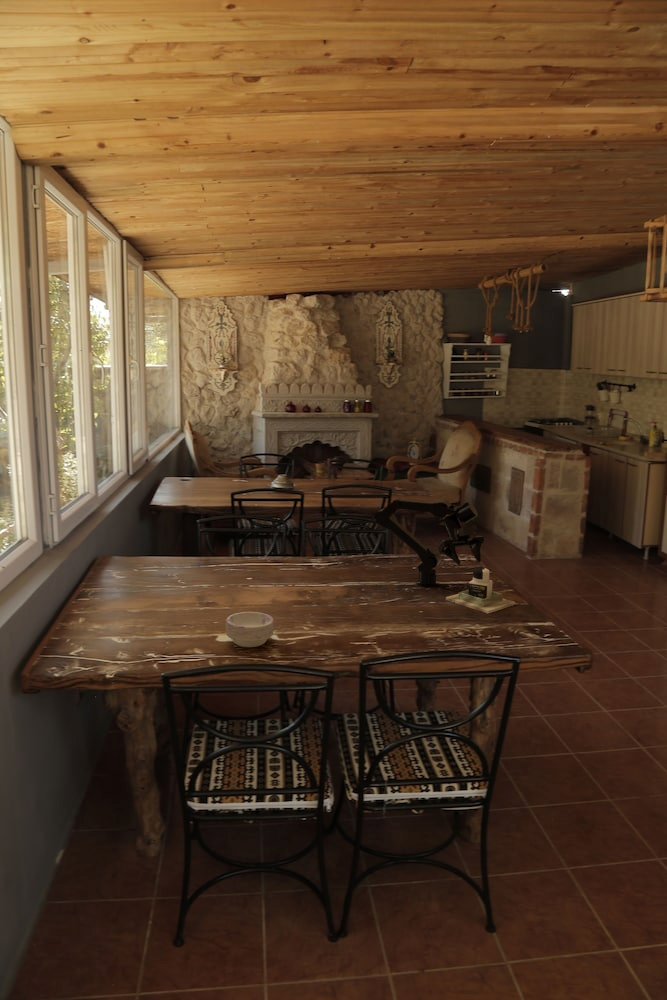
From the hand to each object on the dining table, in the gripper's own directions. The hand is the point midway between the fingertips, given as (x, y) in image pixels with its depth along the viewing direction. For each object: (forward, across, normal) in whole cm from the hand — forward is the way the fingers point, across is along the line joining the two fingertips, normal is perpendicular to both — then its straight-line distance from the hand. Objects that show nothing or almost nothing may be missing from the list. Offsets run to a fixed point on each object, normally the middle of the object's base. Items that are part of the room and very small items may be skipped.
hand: (469, 563), depth 290 cm
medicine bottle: (+14, 0, +4) cm, 14 cm away
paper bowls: (+18, -92, +1) cm, 94 cm away
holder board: (+15, 0, +4) cm, 15 cm away
